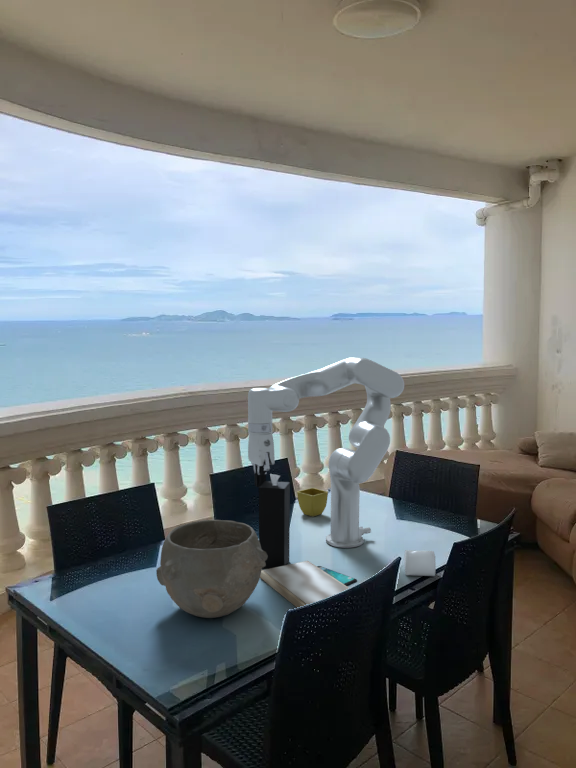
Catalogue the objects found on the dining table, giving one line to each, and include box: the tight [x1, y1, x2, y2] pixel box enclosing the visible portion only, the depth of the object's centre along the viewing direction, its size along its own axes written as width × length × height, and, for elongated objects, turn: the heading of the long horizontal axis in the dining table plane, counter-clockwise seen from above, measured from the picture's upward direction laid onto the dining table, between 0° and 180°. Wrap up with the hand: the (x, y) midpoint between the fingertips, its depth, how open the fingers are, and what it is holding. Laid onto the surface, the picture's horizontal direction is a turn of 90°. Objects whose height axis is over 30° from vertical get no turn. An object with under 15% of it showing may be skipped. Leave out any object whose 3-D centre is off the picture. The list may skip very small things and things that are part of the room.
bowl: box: [155, 519, 268, 619], centre depth 156 cm, size 27×29×20 cm
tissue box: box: [258, 473, 291, 570], centre depth 185 cm, size 8×8×28 cm
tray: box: [260, 560, 350, 608], centre depth 168 cm, size 16×28×2 cm, turn 29°
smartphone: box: [317, 565, 358, 587], centre depth 177 cm, size 7×1×15 cm
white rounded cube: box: [403, 549, 437, 577], centre depth 179 cm, size 7×7×8 cm
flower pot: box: [296, 487, 329, 518], centre depth 236 cm, size 9×9×9 cm
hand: (260, 485), depth 192 cm, fingers closed
